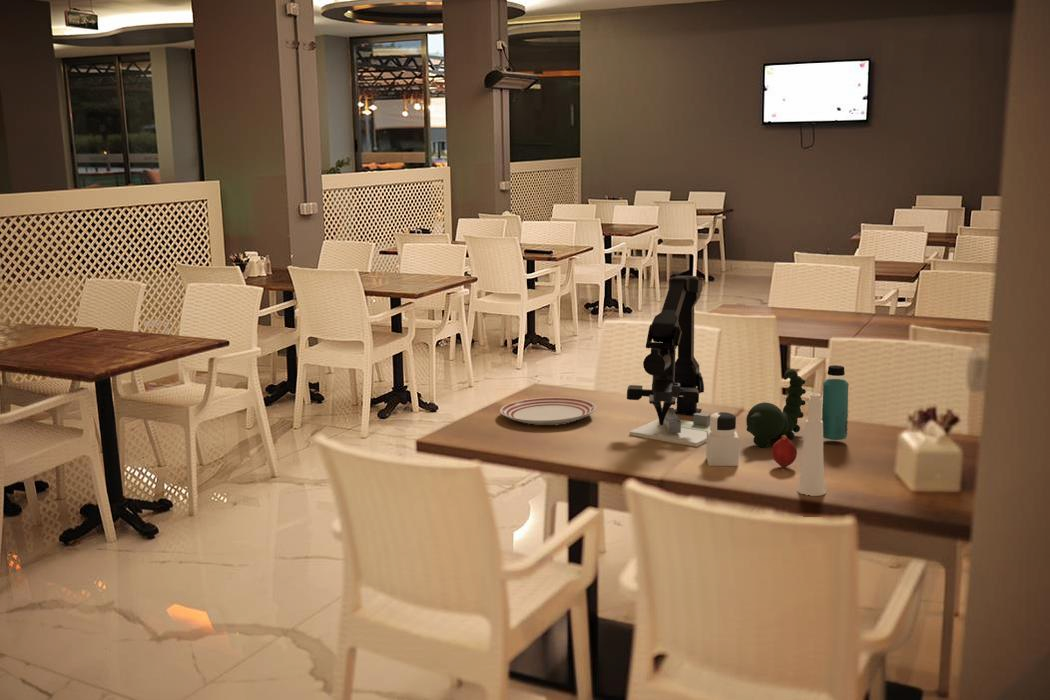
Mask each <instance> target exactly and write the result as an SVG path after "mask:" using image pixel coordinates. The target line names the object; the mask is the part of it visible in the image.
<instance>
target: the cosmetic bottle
mask: <svg viewBox="0 0 1050 700" xmlns="http://www.w3.org/2000/svg"><path fill="white" fill-rule="evenodd" d="M807 401H808V404H807V406H808V407H807V419H805V425H804V435H803V436H804V437H803V445H802V446H803V447H802V459H801V468H800V475H799V482H798V485H797V489H796V491H797V492H798V493H799V494H801V495H803V494H805V495H804V496H808V495H810V496H809V497H820V496H824V495H825V494H826V493H827V489H826V481H825V473H824V472H825V471H824V469H825V468H824V438H823V421H822V420H821V419H822V405H823V399H821V394H820V393H810V394H809V398H808V400H807Z"/></svg>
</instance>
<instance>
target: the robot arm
mask: <svg viewBox="0 0 1050 700" xmlns="http://www.w3.org/2000/svg"><path fill="white" fill-rule="evenodd" d="M702 292H703V280H702V279H700V278H699V276H698V275H675V276H672V277H670V278H668V290H667V293H666V296H665V299H664V302H663V306H662V309H661V312H659V313H658V314H657V315H655V316H654V318H653V320H652V322H651V324H650V325H649V327H648V333H647V337H646V343H645V349H650V353H649V354H647V355H646V356H645V358H644V359H643V362H642V366H643V369H644V371H645V373H647V374H648V375H649V376H652V382H651V389H647V388H645V389H643V385H637V384H636V385H635V384H629V385H628V386H627V390H626V400H628V401H629V400H630V401H640V399H642V397H648V399H649V401H648V402H649V404H650V405H653V407H654V408H655V411H656V414H657V419H659V421H660V426H662V424H663V422H664V419H665V416H666V414H667V411H668V410H669V408H670V407H671V406H674V405H676V408H675V409H674V412H675V414H681V415H688V416H693V414H695V413H700V412H701V411H703V410H702V408H698V404H699V401H700V394H701V393H705V384H704V378H703V376H702V372H701V370H700V364H699V362H698V361H697V359H696V358H695V306H696V305H697V303H698V302H699V299H700V298H701V293H702ZM676 349H677V359H676ZM662 402H663V403H662ZM662 407H663V409H662Z"/></svg>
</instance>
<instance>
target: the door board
mask: <svg viewBox="0 0 1050 700" xmlns="http://www.w3.org/2000/svg"><path fill="white" fill-rule="evenodd" d="M710 416H711V414H707V413H700V412H698V413H695V414H693V415H692V417H693V418H692V419H693V421H690V420H684V419H679V420H680V421H681V433H669V432H668V430H667V428H666V427H665V425H664V423H663V424H662V426H660V421H659V418H657V419H655V420H653V421H650V422H648V423H645V424H643V425H641V426H639V427H636V428H634V429H632V430H630V431H629V436H632V435H633V436H634V437H638V436H639V437H640V438H645V439H649V438H650V439H651V440H656V441H662V442H666V443H673V444H677V445H678V444H679V445H685V446H689V447H690V446H691V447H696V448H697V447H700V446H702V445H704V444H707V430H710ZM639 437H638V438H639ZM650 439H649V440H650Z"/></svg>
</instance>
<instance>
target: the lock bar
mask: <svg viewBox="0 0 1050 700" xmlns="http://www.w3.org/2000/svg"><path fill="white" fill-rule="evenodd" d="M661 408H662V409H663V406H661ZM680 420H681V419H680V418H679V416H678V415H677V413H675V412H674V408H673V407H671V406H670V408H669V410H668V411H667V414H666V416H665V419H664V422H663V423H664V425H665V427H666V428H667V430H668V432H669V433H681V421H680Z"/></svg>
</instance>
